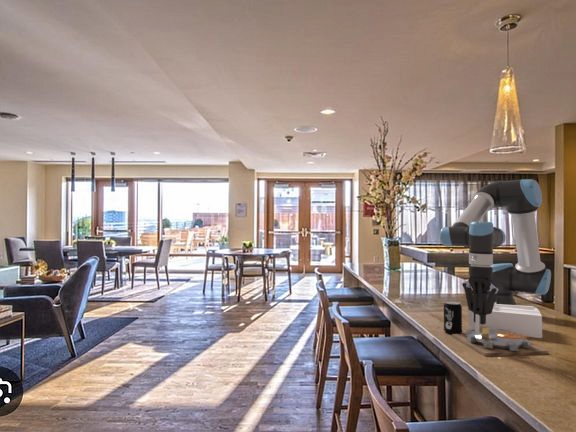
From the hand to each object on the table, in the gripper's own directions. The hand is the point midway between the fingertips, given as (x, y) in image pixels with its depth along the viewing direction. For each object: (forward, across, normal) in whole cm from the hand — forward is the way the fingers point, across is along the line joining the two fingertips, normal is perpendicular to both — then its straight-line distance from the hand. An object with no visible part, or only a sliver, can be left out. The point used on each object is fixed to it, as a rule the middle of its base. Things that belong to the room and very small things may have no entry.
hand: (479, 332), depth 133 cm
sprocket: (+3, +2, +7) cm, 8 cm away
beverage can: (+5, -16, +6) cm, 18 cm away
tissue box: (+5, -9, +28) cm, 30 cm away
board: (+5, +2, +7) cm, 9 cm away
